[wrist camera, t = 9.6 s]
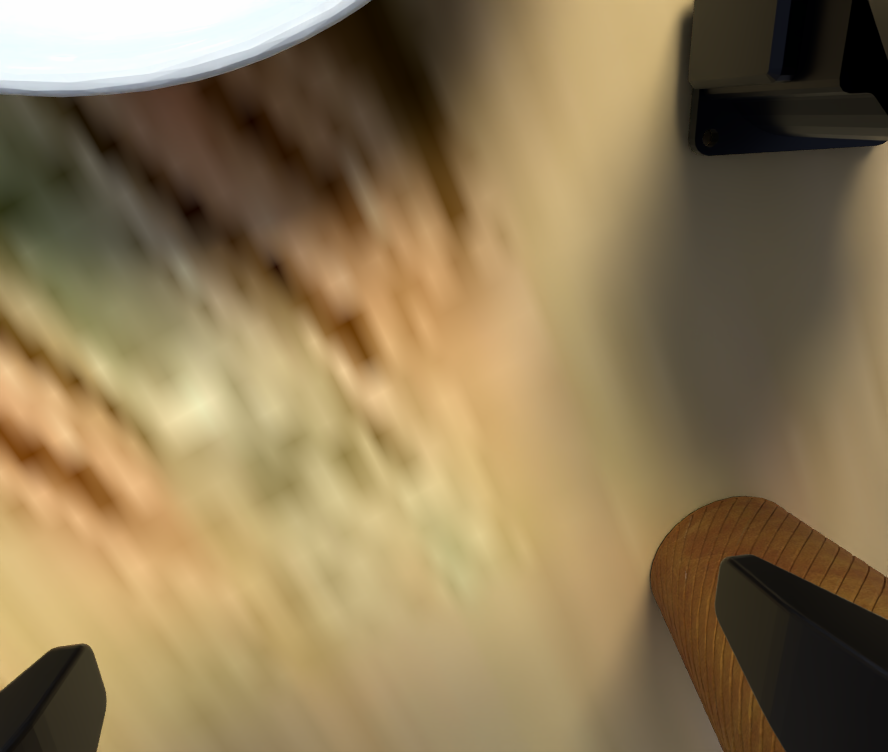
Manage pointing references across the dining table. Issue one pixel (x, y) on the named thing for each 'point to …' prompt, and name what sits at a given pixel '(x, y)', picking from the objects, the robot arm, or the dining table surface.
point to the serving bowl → (147, 41)
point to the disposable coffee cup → (694, 589)
